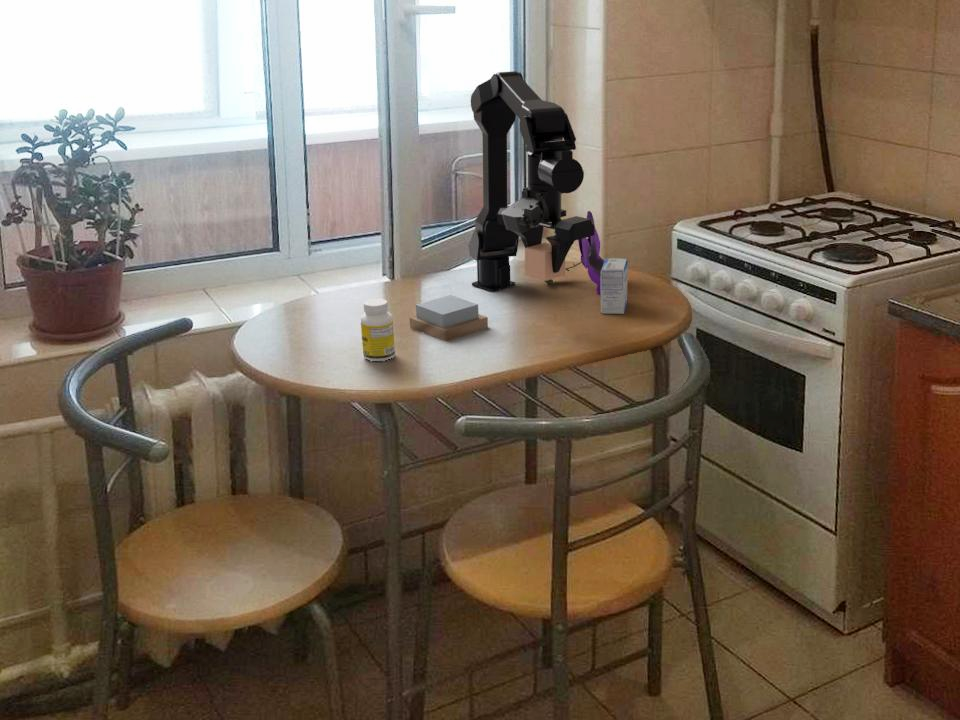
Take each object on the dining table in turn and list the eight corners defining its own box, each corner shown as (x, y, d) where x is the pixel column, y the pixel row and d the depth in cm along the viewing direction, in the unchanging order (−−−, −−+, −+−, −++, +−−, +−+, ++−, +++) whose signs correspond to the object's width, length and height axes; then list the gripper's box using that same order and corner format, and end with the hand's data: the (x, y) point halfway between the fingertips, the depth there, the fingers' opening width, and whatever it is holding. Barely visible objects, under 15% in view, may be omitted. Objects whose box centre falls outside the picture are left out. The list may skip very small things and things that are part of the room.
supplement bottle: (363, 352, 192) (359, 297, 188) (395, 350, 192) (391, 296, 188) (363, 363, 186) (359, 307, 183) (395, 361, 187) (392, 306, 183)
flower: (549, 320, 220) (609, 294, 215) (514, 253, 218) (574, 225, 212) (567, 298, 233) (624, 273, 227) (534, 235, 231) (591, 207, 225)
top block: (416, 317, 202) (415, 304, 201) (451, 307, 207) (450, 295, 206) (443, 328, 196) (442, 314, 195) (478, 317, 201) (478, 304, 200)
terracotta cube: (525, 275, 197) (524, 248, 196) (545, 269, 200) (544, 242, 199) (545, 281, 194) (545, 253, 192) (565, 275, 197) (565, 247, 195)
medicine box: (624, 315, 206) (625, 270, 203) (600, 314, 207) (600, 269, 204) (627, 302, 214) (628, 258, 211) (604, 301, 215) (604, 257, 211)
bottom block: (410, 330, 203) (409, 317, 202) (452, 318, 209) (451, 305, 208) (445, 343, 196) (445, 330, 195) (487, 330, 202) (487, 317, 201)
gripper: (473, 181, 193) (475, 268, 198) (550, 197, 180) (550, 290, 185) (519, 171, 200) (520, 256, 205) (597, 186, 187) (596, 276, 192)
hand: (545, 269), depth 197 cm, fingers closed on terracotta cube, 5 cm apart
